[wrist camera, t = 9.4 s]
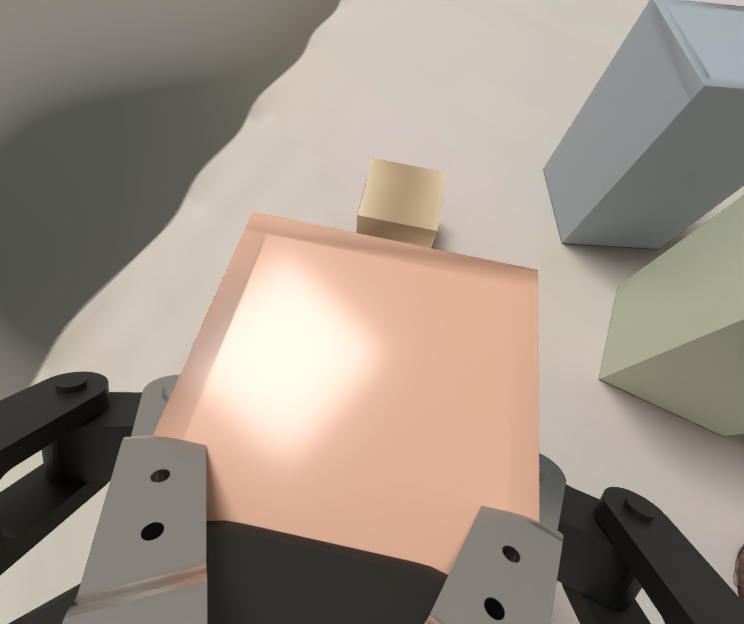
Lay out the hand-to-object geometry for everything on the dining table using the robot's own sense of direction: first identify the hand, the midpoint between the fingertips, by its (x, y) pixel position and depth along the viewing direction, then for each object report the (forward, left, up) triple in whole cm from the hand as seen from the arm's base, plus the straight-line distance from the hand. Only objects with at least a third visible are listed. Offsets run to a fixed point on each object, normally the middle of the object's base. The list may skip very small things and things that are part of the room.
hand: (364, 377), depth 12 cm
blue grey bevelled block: (-13, -16, -6) cm, 22 cm away
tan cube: (0, -10, -6) cm, 12 cm away
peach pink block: (0, +2, -4) cm, 5 cm away
